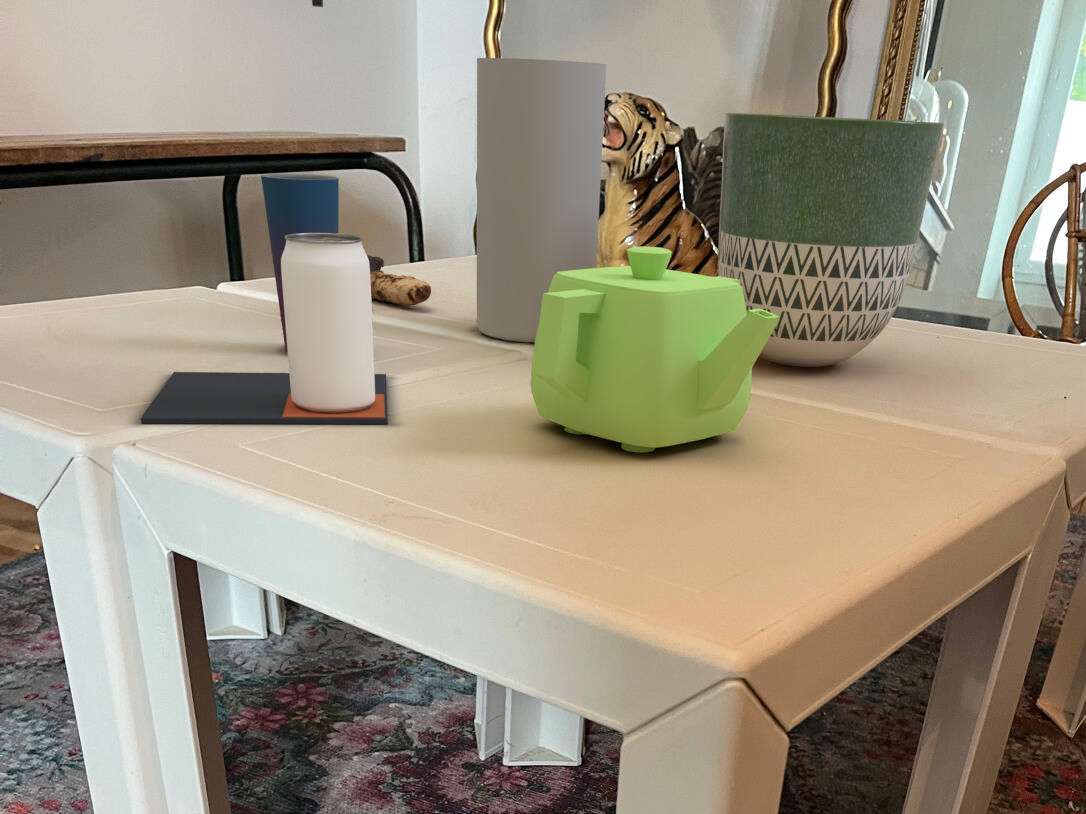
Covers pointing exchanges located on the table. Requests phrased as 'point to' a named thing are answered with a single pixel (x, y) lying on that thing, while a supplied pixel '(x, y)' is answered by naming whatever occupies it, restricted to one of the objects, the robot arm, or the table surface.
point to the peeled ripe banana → (396, 286)
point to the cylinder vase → (534, 184)
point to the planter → (823, 225)
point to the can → (328, 322)
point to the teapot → (646, 352)
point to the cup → (298, 214)
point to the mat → (248, 401)
